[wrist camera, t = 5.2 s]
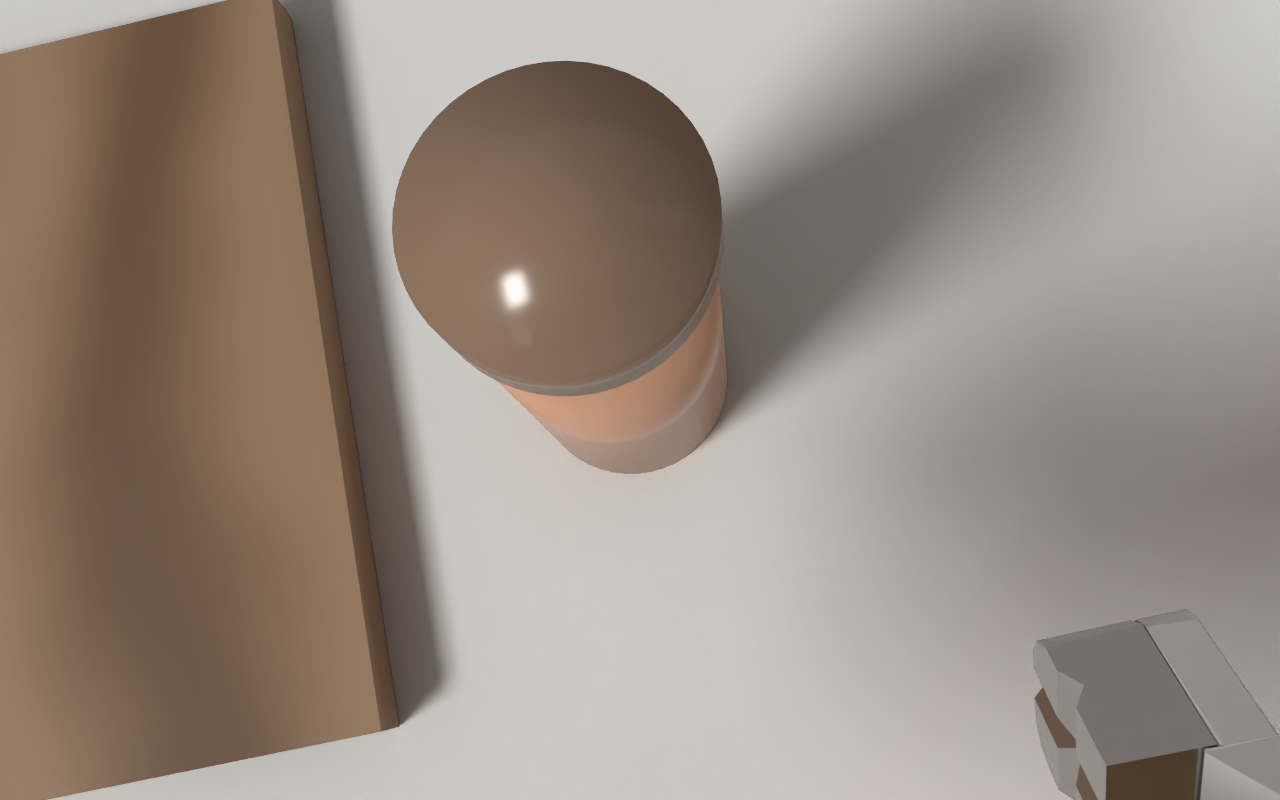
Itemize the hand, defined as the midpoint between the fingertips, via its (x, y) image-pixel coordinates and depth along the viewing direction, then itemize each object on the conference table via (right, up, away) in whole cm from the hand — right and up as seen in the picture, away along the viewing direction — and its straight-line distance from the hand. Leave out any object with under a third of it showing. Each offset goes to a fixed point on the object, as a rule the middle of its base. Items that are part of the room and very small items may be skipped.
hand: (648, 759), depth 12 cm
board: (-16, +3, +14) cm, 21 cm away
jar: (0, +4, +13) cm, 13 cm away
